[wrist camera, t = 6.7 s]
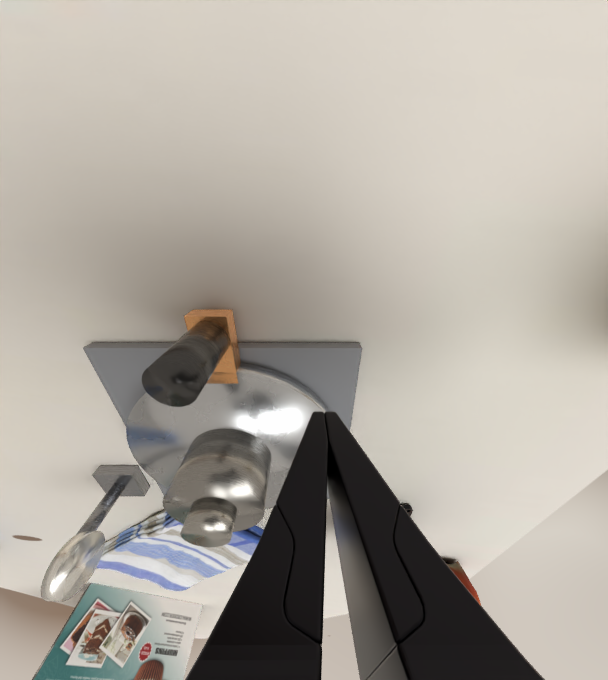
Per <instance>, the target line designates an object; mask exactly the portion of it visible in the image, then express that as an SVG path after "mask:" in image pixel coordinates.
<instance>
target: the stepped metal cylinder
mask: <svg viewBox="0 0 608 680" xmlns="http://www.w3.org/2000/svg"><path fill="white" fill-rule="evenodd" d="M270 466H271V452H270V450H269V448H268V447H267V445H266V444H265V443H264V442H263V441H262V440H260V439H259V438H257V437H256V436H254V435H252V434H250V433H247V432H244V431H241V430H236V429H226V428H224V429H213V430H209V431H206V432H204V433H202V434H200V435H199V436H197V437H196V438H195V439H194V440H193V442H192V443H191V445H190V447H189V449H188V451H187V453H186V455H185V457H184V459H183V461H182V463H181V465H180V467H179V468H178V470H177V472H176V474H175V476H174V478H173V480H172V482H171V484H170V486H169V488H168V490H167V492H166V494H165V495H164V498H163V506H164V508H165V510H166V512H167V513H168V514H169V515H170V516H171V517H172V518H173V519H175V520H176V521H178V522H180V523H182V524H184V525H183V527H182V530H181V533H180V535H181V537H182V538H183V539H184V540H185V541H187V542H188V543H191V544H193V545H197V546H201V547H220V546H223V545H226V544H228V543H229V542H230V541H231V537H232V533H233V532H237V531H242V530H245V529H248V528H251V527H253V526H255V525H256V524H257V523H259V522H260V521H261V519H262V518H263V515H264V510H265V503H266V495H267V488H268V481H269V474H270Z"/></svg>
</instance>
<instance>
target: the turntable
mask: <svg viewBox="0 0 608 680" xmlns="http://www.w3.org/2000/svg"><path fill="white" fill-rule="evenodd" d="M184 319H185V322H186V326H187V330H188V332H187V333H186V334H184V335H183V336H182V337H181V338H180V339H179V340H178V341H177V342H176V343H174V344H173V345H172V346H171V347H170V348H169V349H168V350H167V351H166V352H164V353H163V354H162V355H161V356H160V357H159V358H158V359H157V360H156V361H154V362H153V363H152V364H151V365H150V366H149V367H148V368H147V369H146V370H145V371H144V372H143V374H142V385H143V387H144V389H145V391H146V393H145V394H144V395H143V396H142V397H141V398H140V399H139V400H138V401H137V403H136V404H135V406H134V407H133V409H132V410H131V413H130V415H129V418H128V421H127V427H126V433H127V441H128V444H129V448H130V450H131V452H132V454H133V456H134V458H135V459H136V461H137V462H138V463H139V465H140V466H141V467H142V468H143V469H144V470H145V471H146V472H147V473H148V474H149V475H150V476H151V477H152V478H153V479H155V480H156V481H157V482H159V483H160V484H162V485H163V486H165V487H166V488H169V486H170V484H171V482H172V480H173V478H174V476H175V474H176V472H177V470H178V468H179V467H180V465H181V463H182V461H183V459H184V457H185V455H186V453H187V451H188V449H189V447H190V445H191V443H192V442H193V440H194V439H195V438H196V437H197V436H199V435H200V434H202V433H204V432H206V431H209V430H213V429H224V428H226V429H236V430H241V431H244V432H247V433H250V434H252V435H254V436H256V437H257V438H259V439H260V440H262V441H263V442H264V443H265V444H266V445H267V447H268V448H269V450H270V452H271V466H270V474H269V481H268V488H267V495H266V503H265V509H266V508H273V507H274V506H275V505H276V501H277V498H278V496H279V493H280V491H281V488H282V486H283V484H284V481H285V479H286V476H287V474H288V471H289V469H290V466H291V464H292V461H293V459H294V457H295V454H296V452H297V449H298V447H299V444H300V442H301V439H302V437H303V435H304V432H305V430H306V427H307V425H308V422H309V420H310V417H311V415H312V413H313V412H314V411H322V412H324V413H325V412H326V411H329V409H328V407H327V406H326V405H325V404H324V403H323V401H322V400H321V399H320V398H319V397H318V396H317V395H316V394H314V393H313V392H312V391H311V390H310V389H308V388H307V387H305V386H304V385H303V384H301V383H300V382H298V381H296V380H294V379H292V378H290V377H288V376H286V375H284V374H281V373H279V372H276V371H274V370H271V369H267V368H264V367H260V366H256V365H250V364H244V363H241V360H240V354H239V348H238V342H237V336H236V330H235V323H234V317H233V311H232V310H192V311H191V312H189V313H188V314H187V315H185V316H184Z"/></svg>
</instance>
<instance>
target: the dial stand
mask: <svg viewBox="0 0 608 680" xmlns="http://www.w3.org/2000/svg"><path fill="white" fill-rule="evenodd" d="M93 477H94V478H95V479H96V481H97V482H98V483H99V485H100V486H101V487H102V488H103V490H104V491H105V492H106V495H105V496H104V498H103V499H102V500H101V502H100V503H99V504H98V506H97V507H96V508H95V510H94V511H93V512H92V514H91V515H90V517H89V518H88V519H87V521H86V522H85V523H84V525H83V526H82V527H81V529H80V530H79V531H78V533H77V534H76V535H75V536H74V537H73V538H71V539H70V540H69V541H68V542H67V543H66V544H65V545H64V546H63V547H62V548H61V549H60V551H59V552H58V553H57V555H56V556H55V557H54V559H53V560H52V562H51V564H50V566H49V567H48V569H47V571H46V574H45V576H44V579H43V582H42V586H41V596H42V598H43V600H45V601H66V600H68V599H70V598H71V597H73V596H74V595H75V594H76V593H78V592H79V591H80V590H81V589H82V587H83V586H84V585H85V584H86V583H87V581H88V580H89V579H90V577H91V576H92V574H93V572H94V571H95V569H96V567H97V565H98V563H99V561H100V559H101V556H102V553H103V550H104V545H105V537H104V534H103V533H102V532H100V531H96V530H97V528H98V527H99V525H100V524H101V522H102V521H103V519H104V518H105V517H106V515H107V514H108V512H109V511H110V509H111V508H112V506H113V505H114V503H115V502H116V500H117V499H118V498H119V496H145V494H146V493H147V491H148V489H149V487H150V486H149V484H148V482H147V481H146V479H145V477H144V475H143V474H142V472H141V470H140V469H139V467H138V465H101V466H99V468H98V469H97V470H96V471H95V472H94V473H93Z"/></svg>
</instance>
